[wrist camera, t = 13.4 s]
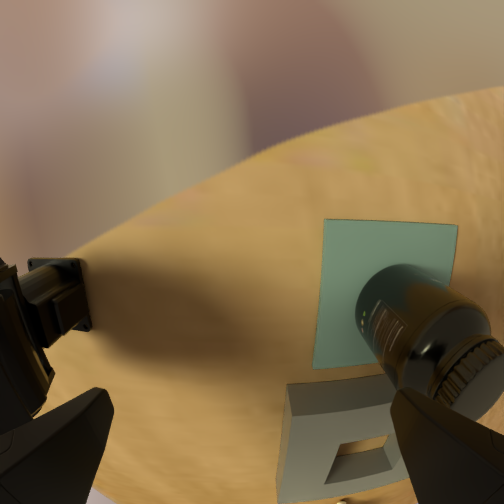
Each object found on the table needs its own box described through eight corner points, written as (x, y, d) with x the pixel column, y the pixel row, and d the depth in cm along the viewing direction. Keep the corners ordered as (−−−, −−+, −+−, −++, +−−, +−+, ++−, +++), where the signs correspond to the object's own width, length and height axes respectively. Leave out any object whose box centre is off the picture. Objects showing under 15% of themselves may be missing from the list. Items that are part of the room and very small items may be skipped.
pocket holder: (275, 479, 26) (277, 503, 22) (286, 384, 22) (292, 416, 18) (401, 457, 26) (410, 476, 22) (450, 359, 22) (470, 379, 18)
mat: (312, 365, 21) (313, 369, 21) (324, 218, 19) (326, 220, 18) (428, 349, 21) (431, 352, 21) (453, 224, 19) (457, 225, 18)
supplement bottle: (428, 257, 19) (541, 317, 7) (418, 332, 20) (498, 417, 9) (352, 266, 19) (455, 358, 7) (348, 347, 20) (409, 463, 9)
